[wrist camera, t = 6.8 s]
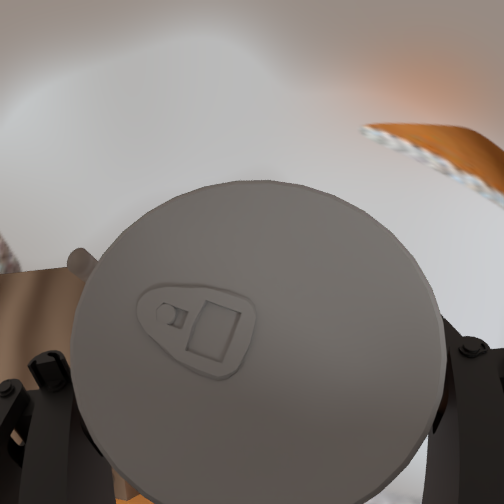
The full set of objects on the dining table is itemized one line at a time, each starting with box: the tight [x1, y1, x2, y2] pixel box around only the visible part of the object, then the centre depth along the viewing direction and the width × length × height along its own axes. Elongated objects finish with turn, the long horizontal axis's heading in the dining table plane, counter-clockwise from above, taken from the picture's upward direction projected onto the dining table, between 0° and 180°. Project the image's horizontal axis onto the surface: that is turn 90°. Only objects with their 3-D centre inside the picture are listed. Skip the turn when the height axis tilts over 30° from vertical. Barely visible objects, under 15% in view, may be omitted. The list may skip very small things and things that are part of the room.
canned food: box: [70, 180, 447, 504], centre depth 10 cm, size 8×8×11 cm
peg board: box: [0, 248, 140, 501], centre depth 15 cm, size 16×16×6 cm
